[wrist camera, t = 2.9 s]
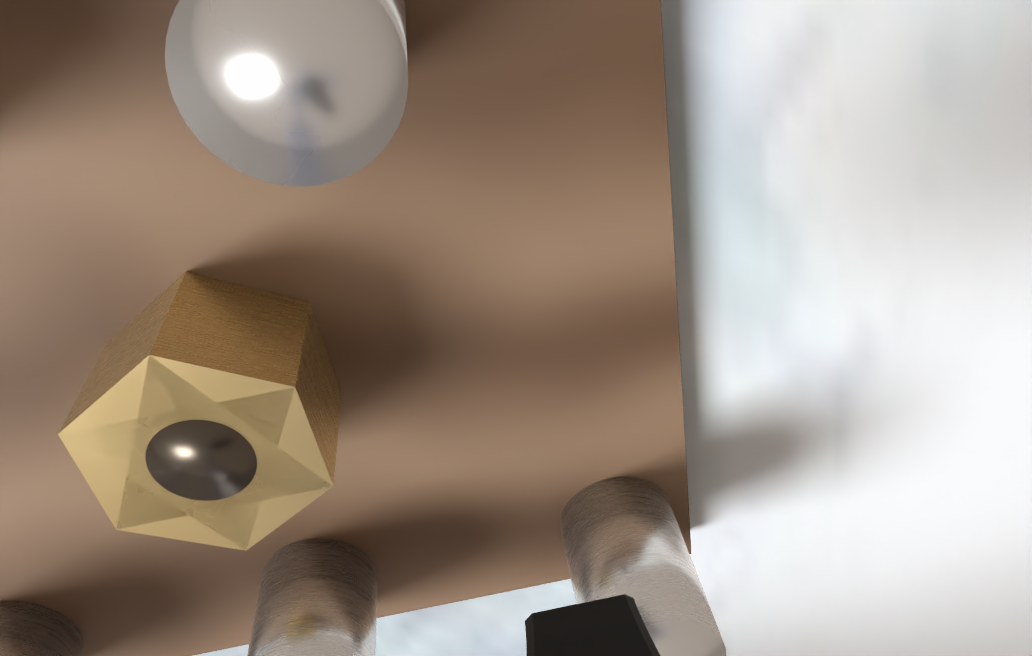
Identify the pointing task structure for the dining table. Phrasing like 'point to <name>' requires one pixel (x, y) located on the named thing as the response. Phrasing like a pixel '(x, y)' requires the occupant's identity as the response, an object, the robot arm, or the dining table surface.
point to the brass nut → (209, 415)
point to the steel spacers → (320, 160)
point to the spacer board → (350, 302)
